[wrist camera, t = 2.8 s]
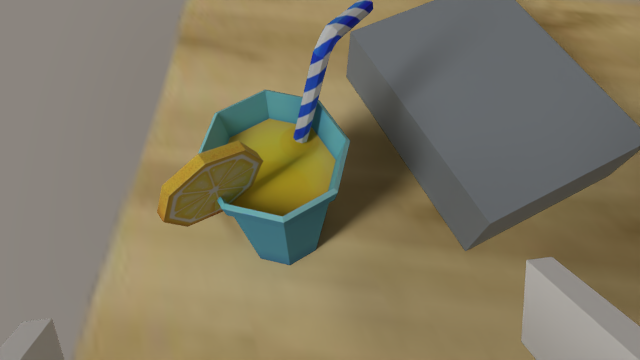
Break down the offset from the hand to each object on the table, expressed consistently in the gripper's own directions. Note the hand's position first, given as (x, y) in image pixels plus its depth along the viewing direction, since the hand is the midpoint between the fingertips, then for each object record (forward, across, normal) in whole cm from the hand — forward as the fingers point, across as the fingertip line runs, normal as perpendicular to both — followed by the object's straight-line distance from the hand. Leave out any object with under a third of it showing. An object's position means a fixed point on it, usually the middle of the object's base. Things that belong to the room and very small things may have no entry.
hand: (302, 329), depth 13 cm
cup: (+20, 0, -5) cm, 20 cm away
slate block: (+24, +15, 0) cm, 28 cm away
